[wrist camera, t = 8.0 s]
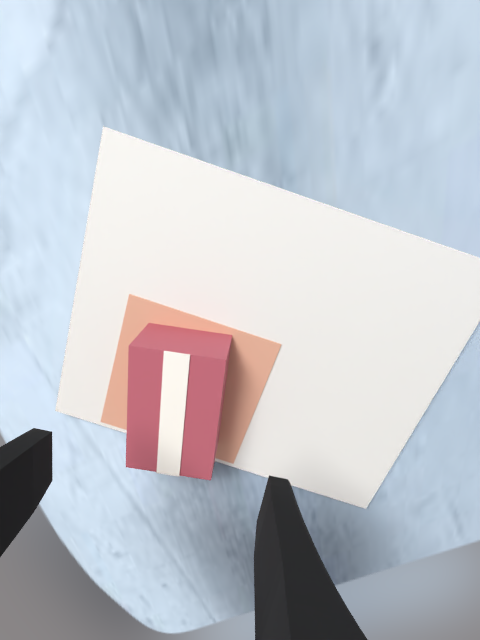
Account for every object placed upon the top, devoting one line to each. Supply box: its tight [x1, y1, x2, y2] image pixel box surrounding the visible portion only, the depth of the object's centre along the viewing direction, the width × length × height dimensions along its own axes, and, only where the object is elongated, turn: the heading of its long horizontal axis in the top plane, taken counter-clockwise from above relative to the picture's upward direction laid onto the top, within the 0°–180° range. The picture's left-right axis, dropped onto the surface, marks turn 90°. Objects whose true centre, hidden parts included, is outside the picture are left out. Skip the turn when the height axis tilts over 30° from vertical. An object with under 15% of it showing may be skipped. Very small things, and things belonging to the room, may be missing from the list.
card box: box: [126, 323, 232, 480], centre depth 19 cm, size 7×4×3 cm, turn 173°
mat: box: [55, 126, 480, 509], centre depth 20 cm, size 20×16×1 cm
